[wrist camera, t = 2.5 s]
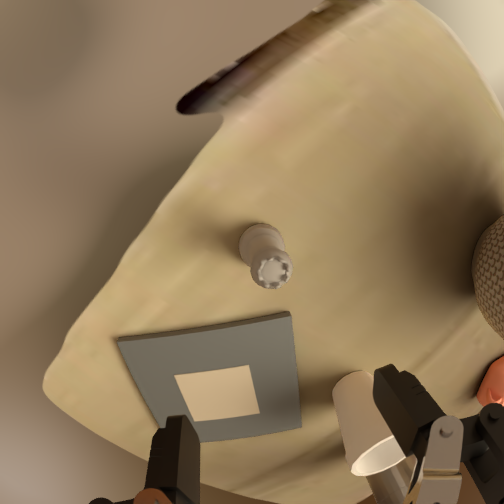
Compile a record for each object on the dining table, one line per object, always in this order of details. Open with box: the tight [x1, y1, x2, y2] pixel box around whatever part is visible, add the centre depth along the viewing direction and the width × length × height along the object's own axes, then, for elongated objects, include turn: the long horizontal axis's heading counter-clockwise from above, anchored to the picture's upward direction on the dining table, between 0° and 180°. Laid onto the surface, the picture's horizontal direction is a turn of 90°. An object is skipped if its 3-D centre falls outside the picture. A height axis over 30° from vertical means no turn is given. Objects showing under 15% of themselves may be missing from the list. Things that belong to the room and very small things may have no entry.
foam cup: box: [332, 371, 406, 476], centre depth 30 cm, size 10×9×13 cm
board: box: [117, 312, 302, 443], centre depth 33 cm, size 20×20×1 cm
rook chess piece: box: [238, 224, 293, 289], centre depth 25 cm, size 4×4×8 cm
